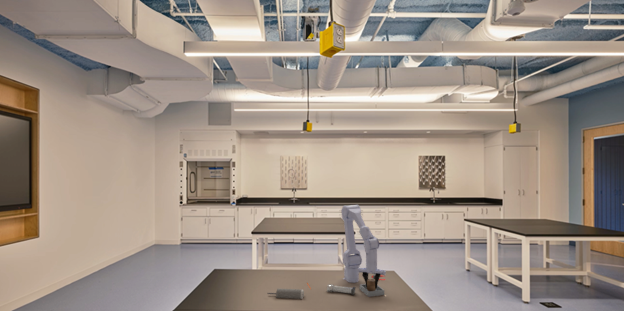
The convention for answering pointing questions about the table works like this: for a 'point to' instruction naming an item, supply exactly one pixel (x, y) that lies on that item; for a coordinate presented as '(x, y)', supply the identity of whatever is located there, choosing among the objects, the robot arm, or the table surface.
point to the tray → (371, 293)
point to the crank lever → (340, 289)
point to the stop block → (371, 285)
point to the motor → (289, 293)
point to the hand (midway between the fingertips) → (371, 287)
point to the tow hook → (380, 276)
